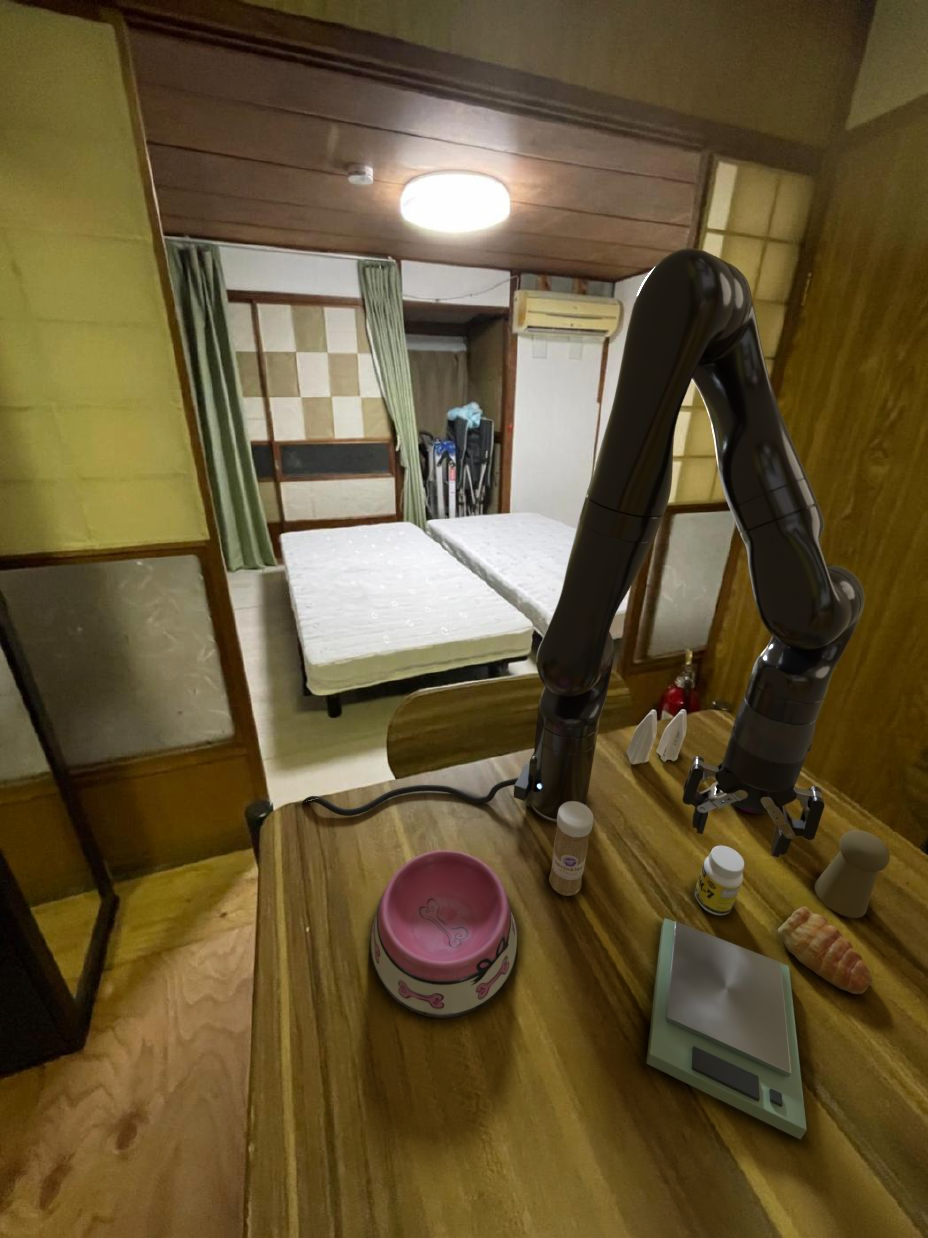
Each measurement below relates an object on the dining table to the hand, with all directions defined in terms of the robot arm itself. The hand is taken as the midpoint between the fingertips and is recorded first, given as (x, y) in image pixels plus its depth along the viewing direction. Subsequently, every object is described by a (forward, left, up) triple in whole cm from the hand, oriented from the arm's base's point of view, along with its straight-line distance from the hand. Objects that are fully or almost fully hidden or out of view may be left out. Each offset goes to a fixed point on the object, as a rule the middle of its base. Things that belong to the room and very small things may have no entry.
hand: (735, 840), depth 65 cm
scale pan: (+1, -14, -9) cm, 17 cm away
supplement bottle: (0, 0, -12) cm, 12 cm away
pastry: (+12, -2, -12) cm, 17 cm away
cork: (+16, +8, -12) cm, 21 cm away
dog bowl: (-31, -20, -12) cm, 39 cm away
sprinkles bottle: (-19, -6, -12) cm, 23 cm away
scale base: (+1, -15, -12) cm, 19 cm away
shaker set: (-11, +26, -12) cm, 31 cm away
